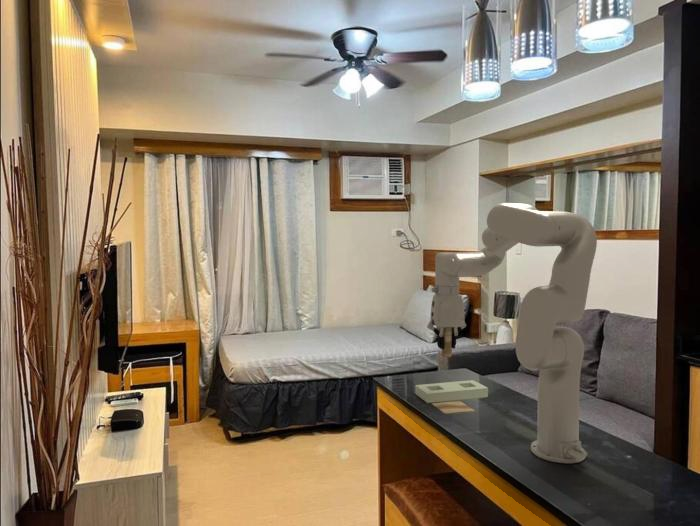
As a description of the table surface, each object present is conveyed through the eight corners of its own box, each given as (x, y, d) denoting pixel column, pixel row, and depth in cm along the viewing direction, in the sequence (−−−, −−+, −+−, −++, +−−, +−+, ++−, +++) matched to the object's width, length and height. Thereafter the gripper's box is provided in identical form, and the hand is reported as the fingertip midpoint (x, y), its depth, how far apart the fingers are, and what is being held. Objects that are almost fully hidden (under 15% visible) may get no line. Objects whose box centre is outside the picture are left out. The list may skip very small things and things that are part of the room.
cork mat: (475, 412, 154) (475, 410, 154) (445, 415, 152) (445, 413, 152) (459, 402, 164) (459, 400, 164) (431, 405, 161) (431, 403, 161)
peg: (453, 356, 159) (453, 325, 159) (444, 357, 158) (444, 326, 158) (448, 354, 162) (449, 323, 162) (439, 355, 161) (440, 324, 161)
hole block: (488, 398, 168) (488, 387, 167) (427, 404, 162) (427, 393, 162) (473, 389, 177) (473, 380, 177) (415, 395, 172) (415, 385, 171)
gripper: (428, 293, 153) (427, 352, 154) (476, 291, 158) (475, 349, 159) (418, 290, 161) (418, 347, 162) (464, 289, 165) (464, 344, 166)
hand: (446, 347), depth 160 cm, fingers closed on peg, 3 cm apart
